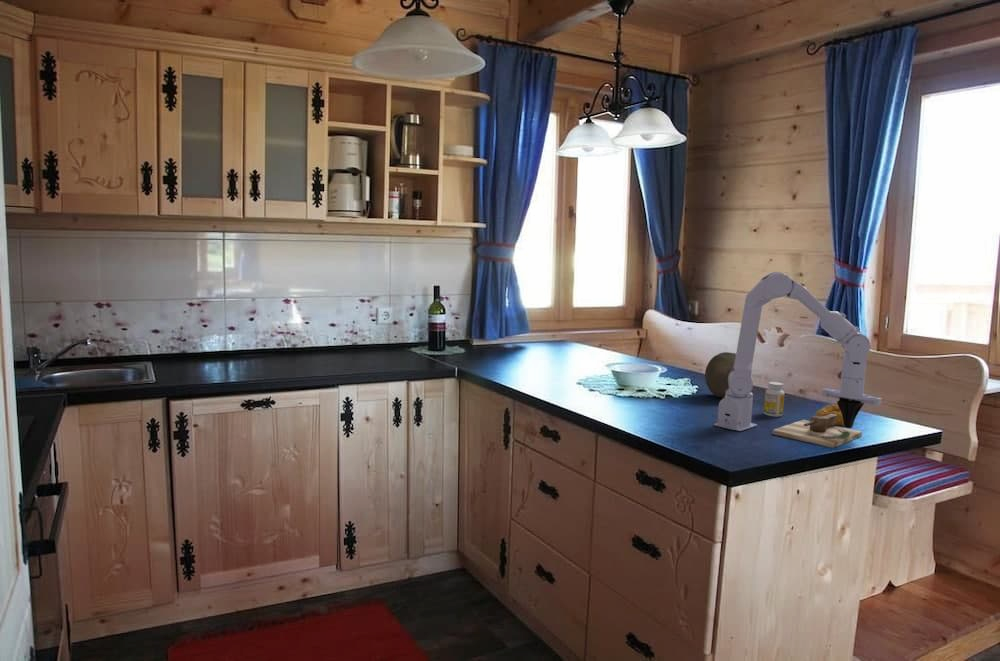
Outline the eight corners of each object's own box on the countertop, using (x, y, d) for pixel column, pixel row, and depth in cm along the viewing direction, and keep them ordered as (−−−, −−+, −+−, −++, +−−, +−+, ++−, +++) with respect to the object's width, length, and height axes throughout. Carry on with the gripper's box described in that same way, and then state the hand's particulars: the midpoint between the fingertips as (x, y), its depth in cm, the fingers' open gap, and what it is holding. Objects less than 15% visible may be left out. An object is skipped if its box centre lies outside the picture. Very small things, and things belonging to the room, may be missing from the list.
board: (833, 447, 181) (833, 442, 180) (772, 434, 192) (773, 428, 192) (861, 435, 193) (862, 430, 192) (803, 423, 204) (803, 418, 204)
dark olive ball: (695, 397, 235) (698, 352, 233) (715, 391, 245) (718, 348, 243) (736, 405, 225) (739, 358, 223) (755, 398, 236) (758, 353, 234)
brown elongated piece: (812, 436, 186) (813, 424, 185) (797, 432, 188) (798, 420, 188) (840, 425, 197) (841, 413, 197) (826, 422, 200) (827, 411, 200)
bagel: (807, 417, 212) (808, 402, 212) (844, 419, 212) (845, 403, 211) (821, 426, 202) (822, 410, 202) (860, 427, 202) (862, 411, 202)
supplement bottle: (768, 417, 211) (771, 385, 210) (760, 412, 216) (762, 381, 215) (786, 417, 212) (788, 385, 210) (777, 412, 217) (779, 381, 216)
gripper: (887, 380, 187) (882, 430, 189) (831, 371, 198) (827, 419, 200) (877, 383, 183) (872, 435, 184) (820, 374, 193) (816, 423, 195)
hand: (848, 427), depth 192 cm, fingers closed
